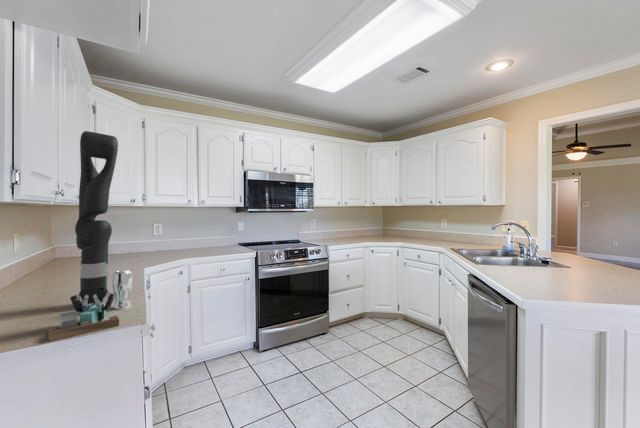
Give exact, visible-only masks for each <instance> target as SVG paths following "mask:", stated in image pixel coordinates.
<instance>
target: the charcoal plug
mask: <svg viewBox="0 0 640 428" xmlns="http://www.w3.org/2000/svg"><path fill="white" fill-rule="evenodd" d="M59 326H60V330H62V329H67V328H71V327H76V326H78V318H77V315H76V311H69V312H64V313H60V325H59Z"/></svg>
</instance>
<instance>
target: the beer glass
mask: <svg viewBox="0 0 640 428" xmlns="http://www.w3.org/2000/svg"><path fill="white" fill-rule="evenodd" d="M133 281H134V279H133V270H130V269H129V270H127V269H125V270H117V271H114V272H113V273H112V289H113V290H112V291H113V293H116V295H115V298H114V305H113V310H118V311H119V310H125V309H129V308H131V307H132V303H131V293H132V290H133V289H132V288H133Z"/></svg>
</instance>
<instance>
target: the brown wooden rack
mask: <svg viewBox="0 0 640 428" xmlns="http://www.w3.org/2000/svg"><path fill="white" fill-rule="evenodd" d="M118 326H120V318H119V317H118V315H116V314H115V315H111V316H109V319H105V320H104V319H103V320H102V321H100V322H95V323H90V324H89V321H86V322H81V326H80V325H77V326H76V327H71V328H67V329H62V330H61V329H58V327H53V328H48V336H47V337H48V343H49V342H50V343H51V342H54V341H59V340H64V339H68V338H72V337H77V336H79V335H84V334H88V333H93V332H97V331H98V332H99V331H101V330H106V329H111V328H115V327H118Z"/></svg>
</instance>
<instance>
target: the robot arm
mask: <svg viewBox="0 0 640 428" xmlns="http://www.w3.org/2000/svg"><path fill="white" fill-rule="evenodd" d="M79 150H80V151H79V152H80V153H79V154H80V179H79V189H78V190H79V191H78V219H77V221H76V223H75V228H74V232H75V235H76V238H75V239H76V240H75V241H76V242H75V243H76V247H77V248H78V250H81V252H80V253H81V254H80V257H81V258H80V259H81V260H80V270H79V271H80V275H79V277H80V279H79V280H80V281H79V283H80V285H79V286H80V291H79V292H78V294H74V295H72V296H70V298H69V299H70V301H71V303H72V306H73V308H74V310H75V312H76V313H83V312H84V311H86V310H87V309H89V308H91V307H92V306H94V305H96V306H97V309H98V322H100V321H104V319H105V318H104V310H106V311H107V310H108V309H110V308H111V306H112V304H113V301H115V295H116V293H114V292H110V291H109V242H110V239H111V236H112V233H113V232H112V230H113V227H112V226H111V223H110V222H108V221H107V220H100V219H99V220H98V219H96V218H97V216H99V215H103V214H106V213H107V212H108V209H109V200H110V198H109V197H110V190H111V185H112V180H113V178H114V177H113V176H114V173H115V166H116V161H117V156H118V150H119V141H118V138H117V137H116V136H114V135H109V134H105V133H100V132H95V131H89V130H86V131H85V130H84V131H83V132H82V133H81V134H80V139H79ZM92 158H96V159H102V160H105V163H104V166H103V168H102V169H101V171H100V172H98V170H97V169H96V167H95V164H94V162H93V159H92ZM104 304H105V306H104Z"/></svg>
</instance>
